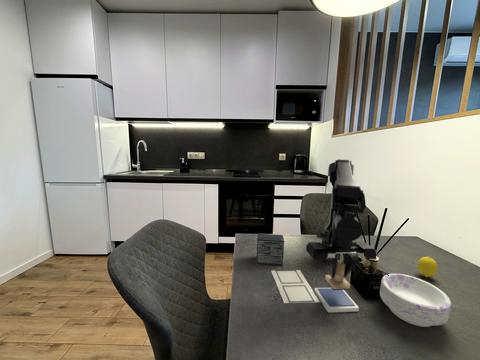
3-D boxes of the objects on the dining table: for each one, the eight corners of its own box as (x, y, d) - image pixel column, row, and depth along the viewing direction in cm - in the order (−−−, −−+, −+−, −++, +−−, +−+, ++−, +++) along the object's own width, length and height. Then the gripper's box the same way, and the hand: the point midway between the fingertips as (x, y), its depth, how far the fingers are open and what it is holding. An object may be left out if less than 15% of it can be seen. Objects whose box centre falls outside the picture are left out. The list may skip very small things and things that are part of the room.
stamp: (340, 279, 67) (342, 258, 66) (349, 289, 63) (352, 267, 62) (325, 279, 67) (327, 258, 66) (333, 290, 62) (335, 267, 61)
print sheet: (299, 270, 82) (299, 269, 81) (320, 302, 65) (320, 301, 65) (271, 271, 81) (271, 270, 81) (284, 303, 64) (284, 302, 64)
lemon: (432, 275, 82) (435, 255, 80) (438, 283, 77) (441, 262, 75) (413, 271, 84) (417, 251, 83) (418, 278, 79) (421, 258, 78)
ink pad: (341, 290, 71) (341, 286, 70) (358, 311, 62) (358, 306, 61) (314, 291, 70) (314, 287, 70) (328, 312, 61) (328, 307, 61)
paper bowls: (429, 345, 51) (435, 315, 50) (367, 304, 65) (370, 280, 64) (457, 324, 58) (462, 297, 57) (395, 290, 72) (399, 268, 71)
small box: (281, 258, 91) (283, 234, 89) (283, 266, 84) (284, 240, 83) (256, 255, 92) (257, 232, 90) (256, 264, 85) (257, 238, 84)
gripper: (356, 218, 71) (351, 262, 73) (301, 218, 69) (297, 263, 72) (381, 231, 60) (374, 283, 62) (316, 231, 58) (311, 284, 61)
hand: (337, 277), depth 64 cm, fingers closed on stamp, 3 cm apart
